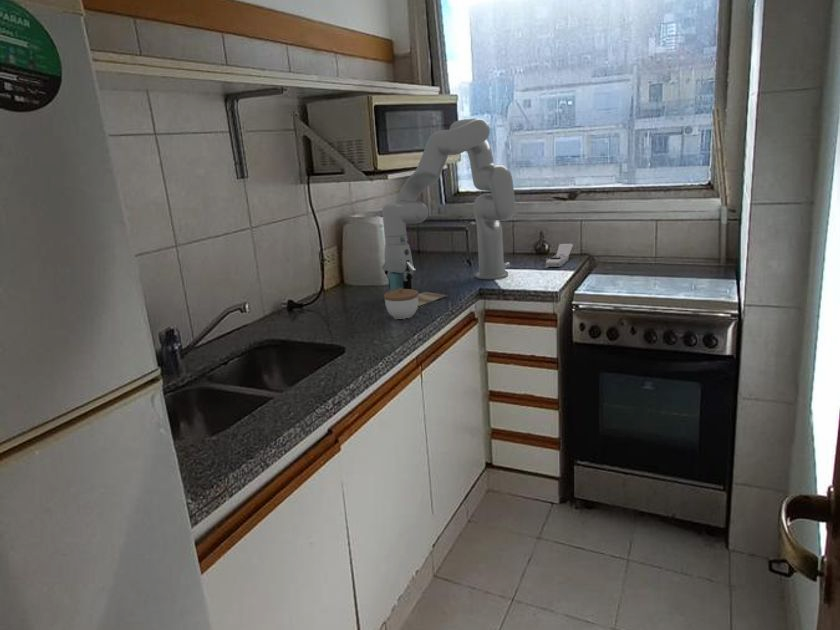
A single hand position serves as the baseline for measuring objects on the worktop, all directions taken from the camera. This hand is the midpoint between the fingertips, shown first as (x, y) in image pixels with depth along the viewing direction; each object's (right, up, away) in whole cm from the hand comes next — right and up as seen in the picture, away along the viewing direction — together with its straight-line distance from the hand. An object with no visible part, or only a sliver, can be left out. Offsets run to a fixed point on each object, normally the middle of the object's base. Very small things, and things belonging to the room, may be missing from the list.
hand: (400, 289), depth 216 cm
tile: (0, -3, +1) cm, 3 cm away
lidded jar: (+2, -10, -23) cm, 25 cm away
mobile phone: (+64, +12, +36) cm, 75 cm away
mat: (+7, -4, -6) cm, 10 cm away
